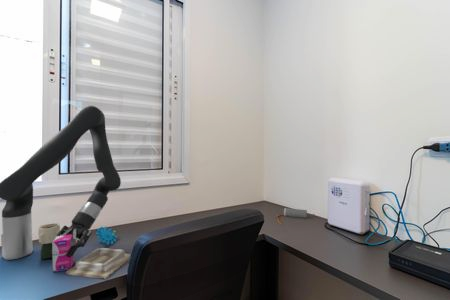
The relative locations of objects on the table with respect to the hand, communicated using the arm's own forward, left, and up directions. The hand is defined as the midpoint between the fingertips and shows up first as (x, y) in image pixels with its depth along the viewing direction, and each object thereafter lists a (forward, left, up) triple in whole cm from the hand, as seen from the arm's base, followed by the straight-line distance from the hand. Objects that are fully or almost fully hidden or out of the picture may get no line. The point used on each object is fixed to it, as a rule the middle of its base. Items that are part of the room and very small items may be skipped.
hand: (60, 254), depth 87 cm
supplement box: (0, +1, -6) cm, 6 cm away
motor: (+92, +70, -6) cm, 115 cm away
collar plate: (+13, +5, -5) cm, 15 cm away
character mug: (-13, +7, -6) cm, 16 cm away
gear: (+2, +23, -6) cm, 24 cm away
